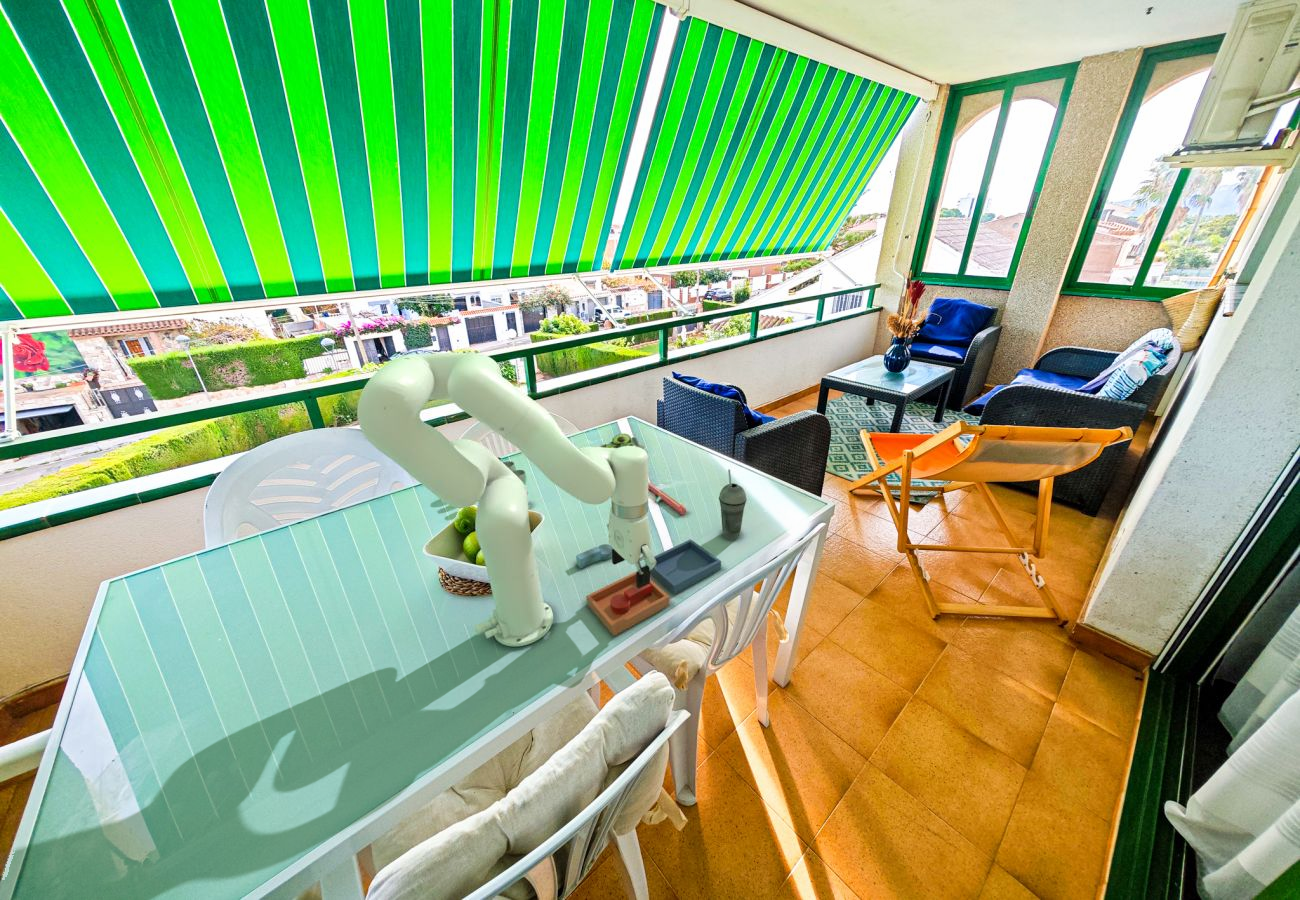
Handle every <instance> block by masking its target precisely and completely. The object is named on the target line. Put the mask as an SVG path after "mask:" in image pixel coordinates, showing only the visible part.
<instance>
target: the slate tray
mask: <svg viewBox="0 0 1300 900" xmlns="http://www.w3.org/2000/svg"><path fill="white" fill-rule="evenodd" d="M653 557H654V558H655V560H656V562H657V563H656V565H655V567H654V569H652V570H650V575H652V576H653V577H654V578H655V579H656V581H658V582H660V583H661V584H662V585H663V586H664V587H665V588H666V589H667V590H669V591H670V593H672V594H673V595H676V594H678V593H680V592H682V591H684V590H685V589H687V588H689V587H691V586H693V585H695V584H696V583H698V582H700V581H702V580H704V579H705V578H707V577H709V576H711V575H713V574H715V573H716V572H719V571H720V570H722V560H720V559H719V558H718V557H716V556H715V555H714V554H712V553H711V552H709V551H708V550H707V549H705V548H704V547H702V546H701V545H700V544H698V543H697V542H695V541H694V540H692V539H688V540H685V541H684V542H681V543H679V544H677V545H674V546H673V547H671V548H668V549H667V550H665V551H663V552H661V553H658V554H656V555H653ZM644 564H645V563H644ZM644 566H646V564H645V565H644Z"/></svg>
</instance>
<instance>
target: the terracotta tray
mask: <svg viewBox="0 0 1300 900" xmlns="http://www.w3.org/2000/svg"><path fill="white" fill-rule="evenodd" d="M636 572H638V570H637V571H633V572H632V573H630V574H629V575H626V576H624V577H622V578H620V579H618V580H616V581H613V582H612V583H610V584H608V585H606V586H603V587H602V588H599V589H598V590H595V591H593V592H591V593H589V594H587V595H586V596H585V597H586V605H587V606H588V607H589V609H590V610H591V611H592V612H593V613H594V614H595V616H596V617H597V618H598V619H599V620H600V622H601V623H602V624H603V625H604V627H605V628H606V629H607V630H608V632H610V633H611V635H612V636H613V637H615V636H617V635H619V634H621V633H622V632H625V631H626V630H627V629H630V628H631V627H633V626H635V625H636V624H638V623H640V622H642V621H644V620H646V619H647V618H649V617H652V616H653V615H655V614H656V613H659V612H660V611H662V610H663V609H666V608H667V607H669V606H670V596H669V595H668V594H667V593H666V592H665V591H664V590H663V589H662V588H661V587H660V586H659V585H657V584H656V583H655V582H654V581H653V580H652V579H651V578H650V583H649V584H650V585H651V589H652V595H651V596H649V597H647V598H645V599H643V600H641V601H639V602H638V603H636V604H634V605H632V606H631V608H630V610H629V611H628V612H627V613H625V614H615V613H613V612H612V610H611V604H610V601H611V599H612V597H614V596H615V595H618V594H624V591H626V590H628V589H630V588H632V587H634V586H636Z"/></svg>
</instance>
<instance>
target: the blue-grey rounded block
mask: <svg viewBox="0 0 1300 900" xmlns="http://www.w3.org/2000/svg"><path fill="white" fill-rule="evenodd" d="M612 549H613V548H611V545H610V544H609V543H604V544H600V545H599V546H595V547H592V548H590V549H588V550H585V551H583V552H580V553H579V554H576V555H575V558H576V565H577V566H578V567H579V568H580V569H584V568H585V567H588V566H590V565H592V564H594V563H596V562H598V561H608V560H610V559H612Z"/></svg>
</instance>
